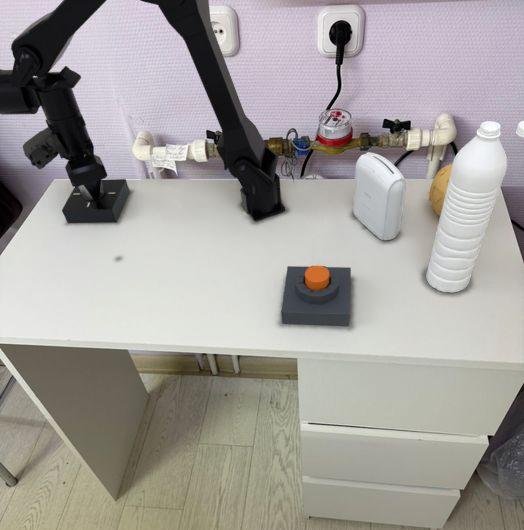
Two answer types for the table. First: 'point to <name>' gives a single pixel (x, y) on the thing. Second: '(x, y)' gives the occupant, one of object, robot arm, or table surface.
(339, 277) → the box
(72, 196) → the panel
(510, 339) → the table surface
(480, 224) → the water bottle
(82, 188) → the dial
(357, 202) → the photo printer
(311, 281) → the button
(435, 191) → the stress ball
